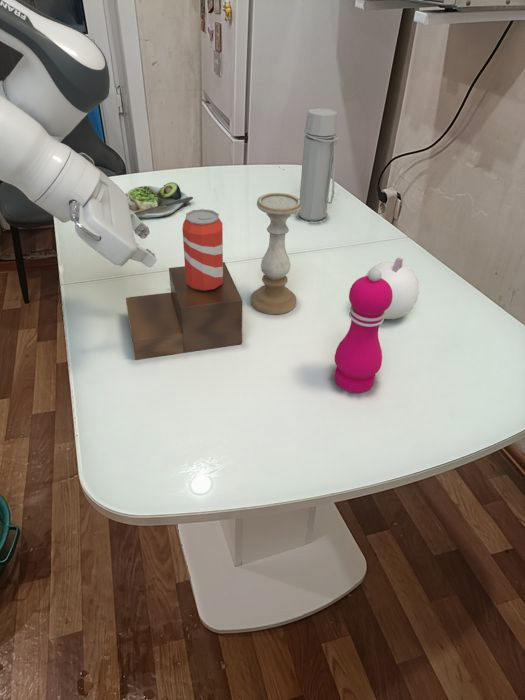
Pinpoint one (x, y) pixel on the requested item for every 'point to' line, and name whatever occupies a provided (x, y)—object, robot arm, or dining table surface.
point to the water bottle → (318, 163)
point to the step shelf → (185, 318)
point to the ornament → (399, 287)
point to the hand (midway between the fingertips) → (149, 247)
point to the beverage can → (203, 249)
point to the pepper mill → (363, 334)
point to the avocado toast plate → (156, 200)
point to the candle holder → (276, 255)
